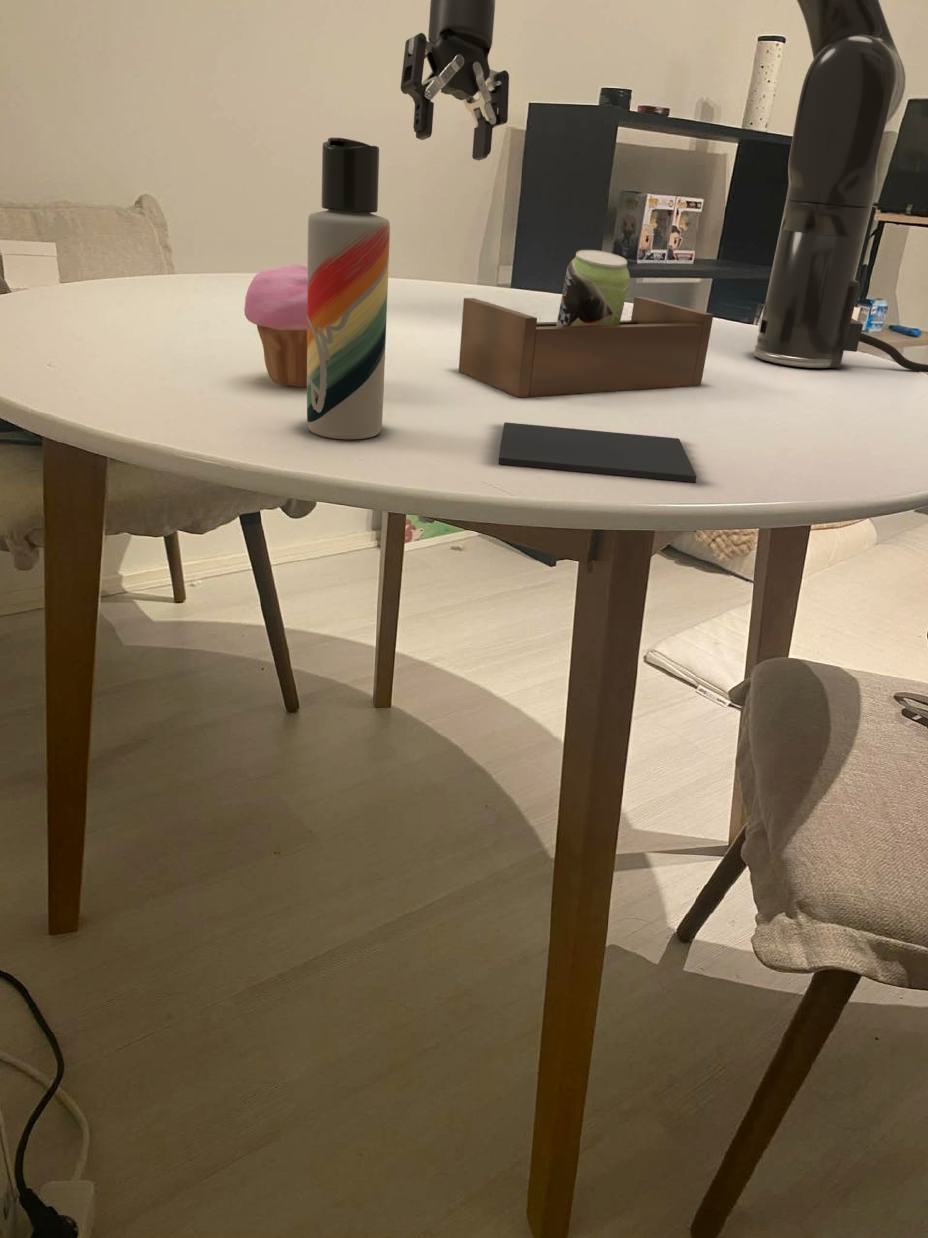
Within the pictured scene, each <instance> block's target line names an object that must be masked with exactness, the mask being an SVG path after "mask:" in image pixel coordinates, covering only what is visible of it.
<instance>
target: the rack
mask: <svg viewBox="0 0 928 1238" xmlns="http://www.w3.org/2000/svg"><path fill="white" fill-rule="evenodd" d="M462 303H463V305H462V318H461V331H460V333H461V334H460V345H459V358H458V360H459V361H458V372H459V373H462V374H464V375H466V376H468V377H471V378H472V379H475V380H478V381H479V382H482V383H485V384H487V385H489V386H491V387H494V388H495V389H498V390H501V391H502V392H506V393H508V394H510V395H512V396H515V397H517V398H532V397H544V396H545V397H547V396H560V395H574V394H575V395H576V394H591V393H604V392H607V393H608V392H619V391H636V390H650V389H651V390H652V389H664V388H679V387H680V388H681V387H694V386H697V387H698V386H702V383H703V382H702V381H703V375H704V370H705V364H706V359H707V355H708V354H707V353H708V348H709V342H710V338H711V331H712V326H713V320H714V313H710V312H705V311H701V310H697V309H693V308H690V307H685V306H681V305H677V304H673V303H669V302H666V301H661V300H657V299H653V298H649V297H646V296H634V298H633V304H632V310H631V318H630V319H629V320H623V319H622V320H620V324H619V325H591V326H556V325H557V321H540V322H539V321H538V318H537V317H536V316H533V315H530V314H527V313H523V312H519V311H517V310H514V309H510V308H507V307H504V306H500V305H497V304H494V303H491V302H487V301H485V300H481V299H478V298H475V297H463V302H462Z"/></svg>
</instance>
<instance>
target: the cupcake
mask: <svg viewBox="0 0 928 1238" xmlns="http://www.w3.org/2000/svg"><path fill="white" fill-rule="evenodd" d="M307 286H308V266H305V265H302V264H293V265H288V266H282V267H281V266H280V267H276V268H270V269H265V270H261V271H259V272H258V273H256V274H255V276H254V277H253V279H252V280H251V282H250V284H249V286H248V288H247V290H246V295H245V300H244V308H243V310H244V316H245V318H246V320H247V321H248V322H250V323H251V324H254V325H255V326H256V328H257V332H258V335H259V338H260V341H261V344H262V348H263V359H264V364H265V368H266V372H267V375H268V377H269V379H271V381H272V382H273V383H275V384H278V385H282V386H299V387H307Z"/></svg>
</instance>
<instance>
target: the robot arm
mask: <svg viewBox="0 0 928 1238" xmlns="http://www.w3.org/2000/svg"><path fill="white" fill-rule="evenodd" d="M796 2H797V5H798V7H799V9H800V11H801V15H802V17H803V20H804V23H805V26H806V31H807V34H808V39H809V43H810V48H811V54H812V58H813V60H812V62H811V63H810V65H809V67H808V69H807V71H806V73H805V76H804V79H803V81H802V82H803V83H802V86H801V91H800V94H799V98H798V104H797V110H796V115H795V121H794V127H793V132H792V139H791V144H790V150H789V155H788V164H787V173H788V175H787V176H788V186H787V192H786V195H785V196H786V197H785V199H786V200H785V202H784V207H783V213H782V217H781V223H780V227H779V232H778V237H777V243H776V247H775V252H774V257H773V262H772V267H771V272H770V277H769V282H768V287H767V292H766V296H765V297H766V298H765V301H764V307H763V311H762V316H761V318H760V319H759V324H758V328H757V330H758V335H757V337H756V338H757V339H756V344H755V346H754V350H753V355H754V357H756V358H757V359H760V360H762V361H766V362H768V363H769V362H770V363H772V364H773V363H774V364H777V365H784V366H791V367H798V368H807V369H808V368H809V369H829V368H833V369H840V368H841V366H842V365H841V363H842V360H843V356H844V352H851V353H853V352H855V353H857V351H858V347H859V343H860V342H861V343H863V344H865V345H869V346H871V347H873V348H876V349H878V350H880V351H882V352H884V353H886V354H887V355H888V356H889V357H890V358H891V359H893V360H894V361H895V363H897V365H899V366H900V367H902V368H904V369H907V370H910V371H913V372H918V373H928V364H927V363H920V362H919V363H918V362H915V361H912V360H909V359H907V358H906V357H905V356H904V355H903V354H902V353H901V352H900V351H899V350H898V349H897V348H896V347H894V346H893V345H891V344H889V343H887V342H886V341H884V340H881V339H879V338H878V337H877V338H876V337H873V336H871V335H868V334H865V333H863V332H862V331H863V326H864V324H863V323H861V322H860V321H858V320H856V319H854V318H853V314H854V310H855V307H856V302H857V297H858V293H859V289H860V282H859V281H858V280H856V277H857V272H858V268H859V264H860V261H861V255H862V251H863V248H864V247H863V246H864V244H865V240H866V239H865V238H866V234H867V232H868V231H867V230H868V226H869V223H870V217H871V213H872V211H873V209H872V207H873V205H874V202H875V197H876V193H877V188H878V165H879V157H880V151H881V148H882V147H881V146H882V142H883V138H884V133H885V129H886V125H887V124H888V123H889V122H890V121H891V120H892V118H893V117H894V116H895V114H896V113H897V111H898V110H899V108H900V106H901V104H902V101H903V98H904V94H905V90H906V78H907V77H906V71H905V66H904V63H903V61H902V58H901V56H900V54H899V51H898V49H897V46H896V44H895V41H894V39H893V36H892V33H891V31H890V28H889V26H888V23H887V19H886V17H885V14H884V11H883V9H882V6H881V3H880V0H796ZM429 7H430V8H429V18H428V20H429V22H428V34H427V36H428V37H427V36H426V35H425V33H424V32H419V33H418V34H415V35H414V36H411V37H410V38H407V40H405V44H404V45H405V46H404V54H403V61H402V71H401V79H400V80H401V81H400V91H401V92H402V94H404V95H408V96H409V97H410V98H412V101H413V103H414V113H413V114H414V115H413V126H412V127H413V131H414V133H415V138H416V139H418V140H421V141H424V140H426V139H429V138H431V136H432V134H433V122H434V107H435V102H433V101H432V100H433V99H434V97H435V96H436V95H437V94H438V93H439V92H440V93H442V94H445V95H451V96H453V97H454V98H455V99H456V100H459V101H462V102H463V103H464V106H465V108H466V110H467V112H469V113H471V116H472V118H473V121H474V124H475V126H476V127H474V128H473V140H472V141H473V142H472V155H471V156H472V159H473V160H476V161H478V162H479V161H482V160H485V159H487V158H488V156H489V155H490V154H491V150H492V142H493V141H492V140H493V129H494V128H496V127H499V126H501V125H505V124H507V123H508V120H509V96H510V95H509V93H510V92H509V90H510V89H509V88H510V74H509V72H508V71H507V70H506V69H504V70H501V71H496V70H494V69H491V68H490V64H489V54H490V52H491V49H492V47H493V39H494V38H493V37H494V25H495V13H496V0H430V5H429ZM427 38H428V40H427ZM425 59H427V62H428V64H429V68H430V70H431V71H430V73H429V74H428V75H427V77H426V78H425V79H424V80H423V75H424V67H425ZM477 93H478V98H477V99H476V98H474V96H476V95H477Z"/></svg>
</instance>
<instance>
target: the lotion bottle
mask: <svg viewBox="0 0 928 1238" xmlns="http://www.w3.org/2000/svg"><path fill="white" fill-rule="evenodd" d="M321 157H322V158H321V162H322V163H321V208H322V209H324V210H321V211H316V212H313V213H310V214H309V215H308V220H307V268H308V286H307V386H306V423H307V428H308V430H309V431H310V432H311V433H313V434H315V435H317V436H320V437H324V438H329V439H337V440H362V439H368V438H372V437H375V436H377V435H379V434H380V433H381V431H382V427H383V426H382V425H383V416H384V415H383V414H384V412H383V411H384V395H385V394H384V392H385V390H384V389H385V365H386V343H387V341H386V339H387V319H388V317H387V315H388V292H389V291H388V290H389V269H390V268H389V267H390V266H389V265H390V238H391V237H390V236H391V234H390V233H391V224H390V221H389V219H387V218H385V217H382V216H380V215H377V214H374V213H378V208H379V173H380V171H379V170H380V147H378V146H377V145H370V144H368V143H365V142H362V141H358V140H354V139H351V138H344V137H329V138H327V141H324V142H323V143H322V153H321Z"/></svg>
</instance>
